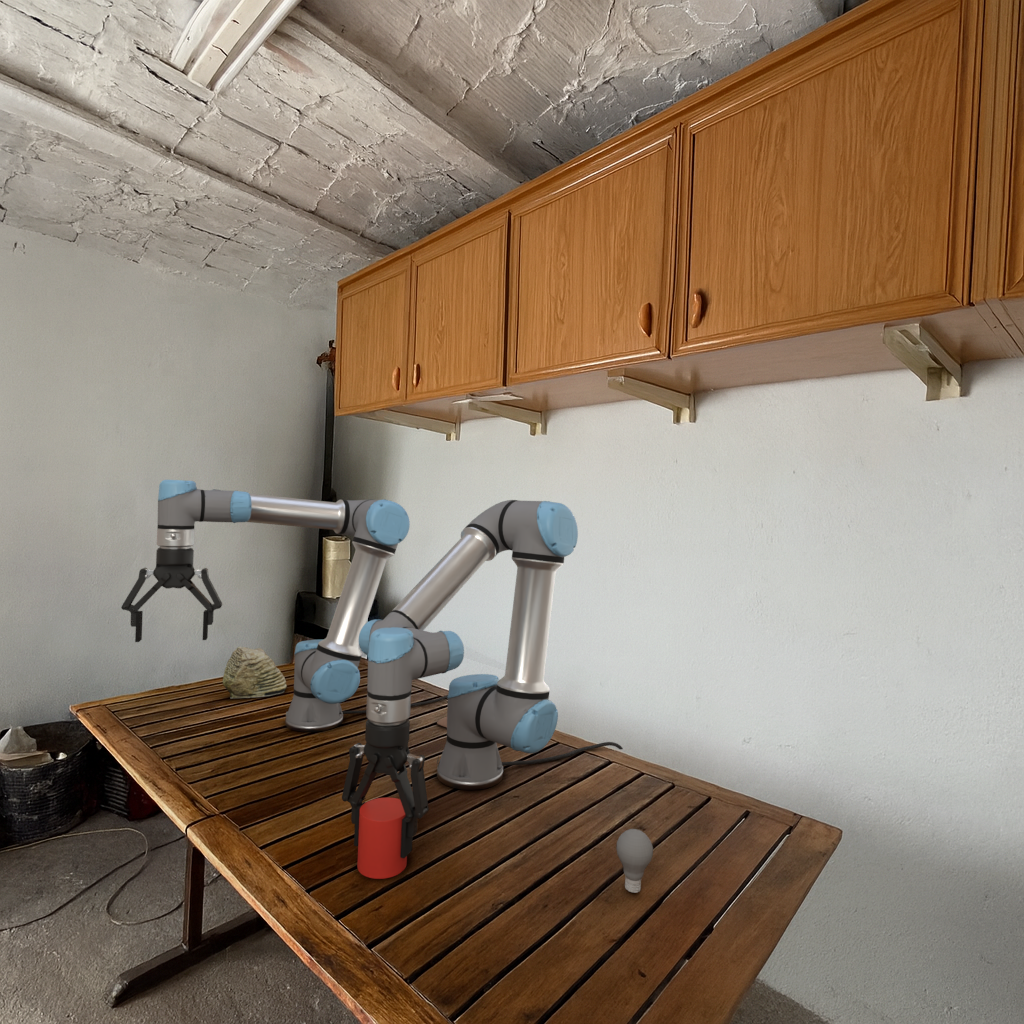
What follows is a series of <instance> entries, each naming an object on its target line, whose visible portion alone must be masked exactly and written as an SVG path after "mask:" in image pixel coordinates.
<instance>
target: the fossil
mask: <svg viewBox="0 0 1024 1024" xmlns="http://www.w3.org/2000/svg"><path fill="white" fill-rule="evenodd" d="M222 676H223V677H222V685H223V687H224V688H225V690H226V691H228V693H229V698H230V699H250V698H264V697H271V696H275V695H281V694H284V693H285V691H286V689H287V687H288V686H287V680H286V678H285V676H284V674H283V673H282V672H281V669H279V668H278V667H277V665H276V663H275V662H274V660H273V659H272V658H271V657H270V656H269V655H268V654H267V653H266V652H265V650H264V649H263V648H260V647H258V648H251V647H247V646H246V647H245V646H238V647H237V648H236V649H235V650H233V651H232V653H231V656H230V657H229V659H228V660H227V663H226V666H225V668H224V671H223V675H222Z"/></svg>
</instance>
